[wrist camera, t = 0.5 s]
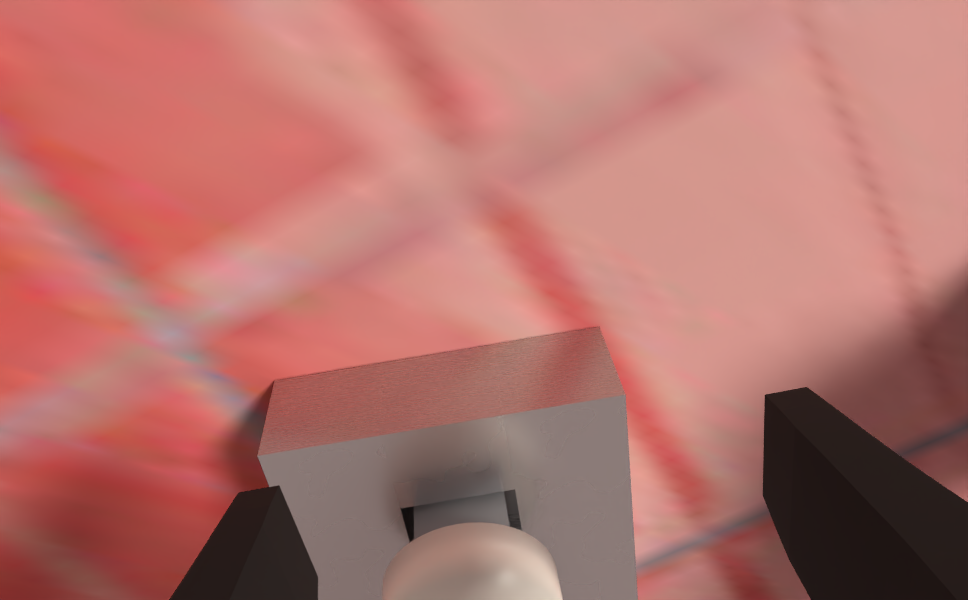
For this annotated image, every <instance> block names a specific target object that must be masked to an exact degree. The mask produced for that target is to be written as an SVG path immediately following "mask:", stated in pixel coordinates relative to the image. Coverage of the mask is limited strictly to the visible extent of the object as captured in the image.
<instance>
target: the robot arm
mask: <svg viewBox="0 0 968 600" xmlns="http://www.w3.org/2000/svg"><path fill="white" fill-rule="evenodd" d="M763 497H764V499H765V502H766V504H767V507H768V509H769V512H770V514H771V517H772V519H773V522H774V525H775V527H776V530H777V532H778V534H779V537H780V539H781V541H782V544H783V546H784V549H785V551H786V553H787V556H788V558H789V560H790V562H791V564H792V566H793V567H794V569H795V571H796V573H797V575H798V577H799V578H800V580H801V582H802V584H803V586H804V587H805V589H806V591H807V593H808V595H809V596H810V598H811V600H968V502H966V501H965V500H963V499H962V498H960V497H959V496H957V495H956V494H954V493H953V492H951V491H950V490H948V489H947V488H945V487H944V486H942V485H941V484H940V483H938V482H937V481H935V480H934V479H932V478H931V477H929V476H928V475H927V474H925V473H924V472H922V471H921V470H919V469H918V468H916V467H915V466H914V465H912V464H911V463H909V462H908V461H906V460H905V459H903V458H902V457H901V456H899V455H898V454H897V453H895V452H894V451H892V450H891V449H890V448H888V447H887V446H885V445H884V444H883V443H881V442H880V441H879V440H877V439H876V438H875V437H873V436H872V435H870V434H869V433H868V432H866V431H865V430H864V429H862V428H861V427H860V426H858V425H857V424H856V423H854V422H853V421H852V420H850V419H849V418H848V417H846V416H845V415H844V414H842V413H841V412H840V411H838V410H837V409H836V408H834V407H833V406H832V405H830V404H829V403H828V402H826V401H825V400H824V399H822V398H821V397H820V396H818V395H817V394H815V393H814V392H813V391H811V390H810V389H809V388H807V387H804V388H799V389H794V390H788V391H783V392H778V393H772V394H767V395H765V414H764V464H763ZM169 600H318V575H317V573H316V571H315V568H314V566H313V564H312V561H311V559H310V556H309V554H308V552H307V549H306V547H305V545H304V542H303V540H302V538H301V535H300V533H299V531H298V528H297V526H296V524H295V521H294V519H293V516H292V514H291V512H290V509H289V507H288V505H287V502H286V500H285V498H284V495H283V493H282V491H281V488H280V486H279V485H278V486H272V487H267V488H262V489H256V490H251V491H245V492H240V493H238V495H237V496H236V497H235V499H234V500H233V502H232V503H231V505H230V506H229V508H228V510H227V511H226V513H225V514H224V516H223V517H222V519H221V520H220V522H219V524H218V525H217V527H216V528H215V530H214V532H213V533H212V535H211V536H210V538H209V539H208V541H207V543H206V544H205V546H204V547H203V549H202V551H201V552H200V554H199V555H198V557H197V558H196V560H195V561H194V563H193V565H192V566H191V568H190V569H189V571H188V572H187V574H186V575H185V577H184V579H183V580H182V581H181V583H180V584H179V586H178V587H177V589H176V590H175V592H174V593H173V595H172V596H171V598H170V599H169Z"/></svg>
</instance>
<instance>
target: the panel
mask: <svg viewBox="0 0 968 600" xmlns="http://www.w3.org/2000/svg"><path fill="white" fill-rule="evenodd" d="M257 456H258V459H259V462H260V464H261V467H262V469H263V472H264V474H265V477H266V479H267V482H268V484H269V487H272V486H278V485H279V486H280V488H281V491H282V493H283V495H284V498H285V500H286V502H287V505H288V507H289V509H290V512H291V514H292V516H293V519H294V521H295V524H296V526H297V528H298V531H299V533H300V535H301V538H302V540H303V542H304V545H305V547H306V549H307V552H308V554H309V556H310V559H311V561H312V564H313V566H314V568H315V571H316V573H317V575H318V600H382V584H383V578H384V574H385V572H386V569H387V567H388V565H389V564H390V562H391V560H392V559H393V558H394V557H395V555H396V554H397V553H398V552H399V551H400V550H401V549H402V548H403V547H405V546H406V545H407V544H409V543H410V542H411V541H413V540H414V506H418V505H424V504H430V503H436V502H442V501H448V500H454V499H460V498H466V497H472V496H478V495H484V494H490V493H496V492H502V491H504V493H505V499H506V504H507V510H508V516H509V521H510V527H513V528H516V529H518V530H521V531H523V532H525V533H527V534H529V535H531V536H533V537H534V538H536V539H537V540H538V541H540V542H541V543H542V544H543V545H544V546H545V547H546V548H547V550H548V551H549V552H550V554H551V555H552V557H553V559H554V562H555V565H556V569H557V574H558V579H559V583H560V588H561V593H562V598H563V600H638V595H637V578H636V562H635V545H634V528H633V512H632V495H631V479H630V462H629V445H628V429H627V412H626V395H625V392H624V390H623V387H622V384H621V382H620V379H619V377H618V374H617V371H616V369H615V366H614V363H613V361H612V358H611V356H610V353H609V350H608V348H607V345H606V343H605V340H604V337H603V335H602V332H601V330H600V327H595V328H589V329H583V330H577V331H571V332H565V333H559V334H553V335H547V336H541V337H535V338H529V339H523V340H517V341H511V342H505V343H499V344H493V345H487V346H481V347H475V348H469V349H463V350H457V351H451V352H445V353H439V354H433V355H427V356H421V357H415V358H409V359H403V360H397V361H391V362H385V363H379V364H373V365H367V366H361V367H355V368H349V369H343V370H337V371H331V372H325V373H319V374H313V375H307V376H301V377H295V378H289V379H283V380H277V381H274V385H273V389H272V394H271V398H270V402H269V407H268V411H267V416H266V420H265V424H264V429H263V433H262V438H261V442H260V446H259V451H258V455H257Z"/></svg>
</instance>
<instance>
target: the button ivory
mask: <svg viewBox="0 0 968 600" xmlns="http://www.w3.org/2000/svg"><path fill="white" fill-rule="evenodd" d="M382 600H563V598H562V593H561V588H560V583H559V579H558V574H557V569H556V565H555V562H554V559H553V557H552V555H551V554H550V552H549V551H548V550H547V548H546V547H545V546H544V545H543V544H542V543H541V542H540V541H538V540H537V539H536V538H534V537H533V536H531V535H529V534H527V533H525V532H523V531H521V530H518V529H516V528H513V527H510V521H509V516H508V510H507V504H506V499H505V493H504V491H502V492H496V493H490V494H484V495H478V496H472V497H466V498H460V499H454V500H448V501H442V502H436V503H430V504H424V505H418V506H414V540H413V541H411V542H410V543H409V544H407V545H406V546H405V547H403V548H402V549H401V550H400V551H399V552H398V553H397V554H396V555H395V557H394V558H393V559H392V560H391V562H390V564H389V565H388V567H387V569H386V572H385V574H384V578H383V584H382Z"/></svg>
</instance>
